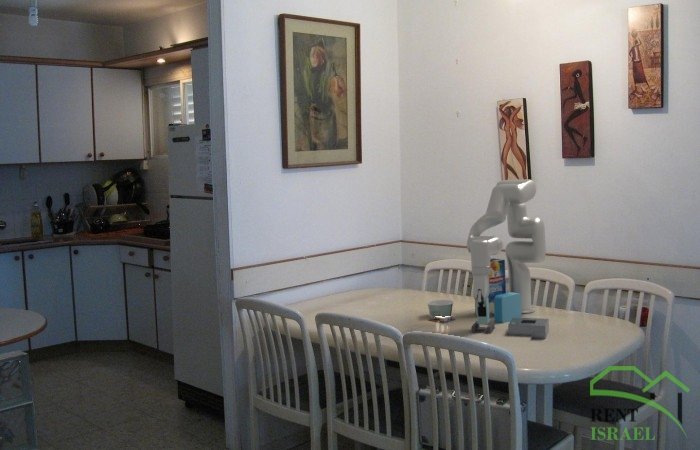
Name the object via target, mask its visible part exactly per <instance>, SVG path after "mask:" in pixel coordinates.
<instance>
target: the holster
mask: <svg viewBox="0 0 700 450" xmlns="http://www.w3.org/2000/svg"><path fill="white" fill-rule="evenodd" d="M495 323H496V322H495V320H494V321H493V320H492V321H491V322H489V323H488V324H487V326H480V324H478V320H475V322H474V323H472V325H471V327H470V329H471V334H492V333H494V330H495V329H496V326H495Z"/></svg>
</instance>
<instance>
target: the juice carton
mask: <svg viewBox="0 0 700 450" xmlns="http://www.w3.org/2000/svg"><path fill="white" fill-rule="evenodd" d="M505 260H506V259H501V258H490V265H491V274H489V275H488V276H489V296H488V299H489V318H490V317H493V316H494V317H495V314H494V297H495V296H496V295H501V294H505V293H507V291H506V290H507V287H506V285H507V284H506V263H505V262H506V261H505ZM477 298H478V297H477ZM477 298H476V299H474V308H475V310H474V311H475V312H474V313H475V315H477Z"/></svg>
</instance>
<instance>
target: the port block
mask: <svg viewBox="0 0 700 450" xmlns="http://www.w3.org/2000/svg"><path fill="white" fill-rule="evenodd" d="M549 323H550V322H549V318H537V317H536V318H535V317H534V318H533V317H522V318H512V320H511V321H509V322H508V325H507V326H508V327H507V328H508V335H509V336H525V337H526V336H527V337H528V336H530V337H531V339H545V340H546V338H547V336H548V334H549V332H550V325H549Z"/></svg>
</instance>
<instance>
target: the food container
mask: <svg viewBox="0 0 700 450" xmlns="http://www.w3.org/2000/svg"><path fill="white" fill-rule="evenodd" d="M454 303H455V301H454V300H451V299H433V300H429V301H427V302H426V305H427V307H428V311H429V316H430V318H431V319H435V318H434V317H435V316H442V317H445V316H451V317H452V315H453V314H452V312H453V311H452V310H453V306H454V305H453V304H454Z"/></svg>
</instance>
